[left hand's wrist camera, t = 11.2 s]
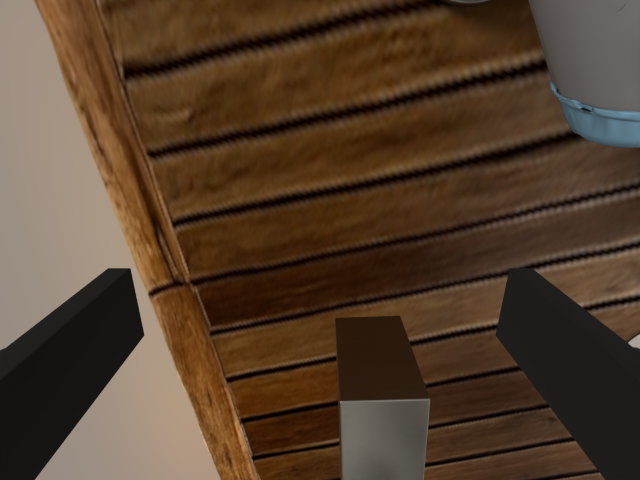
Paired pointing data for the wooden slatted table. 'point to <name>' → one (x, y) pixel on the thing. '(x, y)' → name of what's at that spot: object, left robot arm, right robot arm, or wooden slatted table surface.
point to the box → (380, 401)
